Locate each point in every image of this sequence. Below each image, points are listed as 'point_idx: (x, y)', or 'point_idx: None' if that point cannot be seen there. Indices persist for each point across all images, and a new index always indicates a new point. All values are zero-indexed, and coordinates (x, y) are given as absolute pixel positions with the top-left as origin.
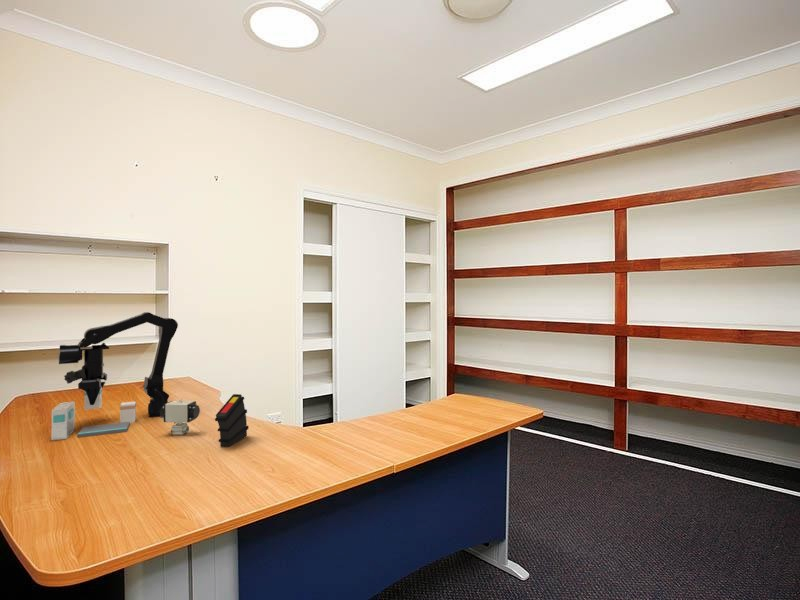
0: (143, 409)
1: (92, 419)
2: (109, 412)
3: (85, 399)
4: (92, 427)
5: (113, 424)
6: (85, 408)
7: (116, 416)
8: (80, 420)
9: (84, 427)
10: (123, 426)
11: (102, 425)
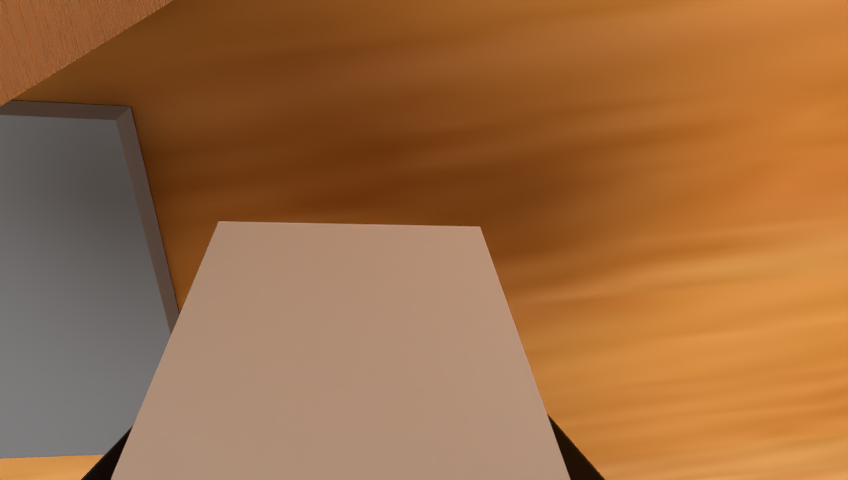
0: (690, 446)
1: (632, 140)
2: (828, 255)
3: (147, 416)
4: (44, 216)
5: (132, 368)
6: (214, 250)
7: (592, 322)
8: (691, 7)
9: (68, 132)
10: (24, 435)
11: (117, 294)
